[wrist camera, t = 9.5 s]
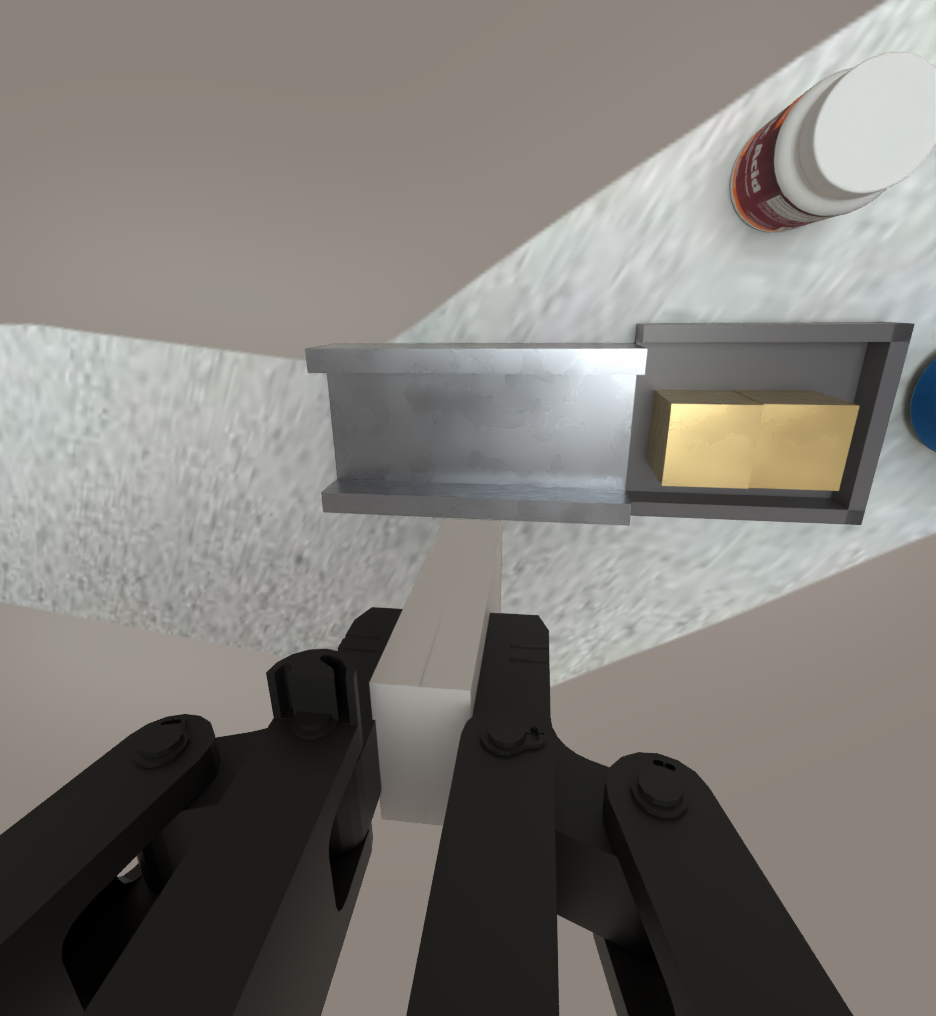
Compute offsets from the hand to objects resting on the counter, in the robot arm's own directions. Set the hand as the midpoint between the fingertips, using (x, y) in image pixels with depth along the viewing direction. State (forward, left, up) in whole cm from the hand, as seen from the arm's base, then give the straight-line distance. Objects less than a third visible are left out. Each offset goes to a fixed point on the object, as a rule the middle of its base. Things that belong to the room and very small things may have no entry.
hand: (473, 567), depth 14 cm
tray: (+12, 0, -19) cm, 22 cm away
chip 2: (+13, 0, -18) cm, 23 cm away
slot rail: (-2, 0, -19) cm, 19 cm away
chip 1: (+9, 0, -18) cm, 20 cm away
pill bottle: (+12, +12, -19) cm, 26 cm away
